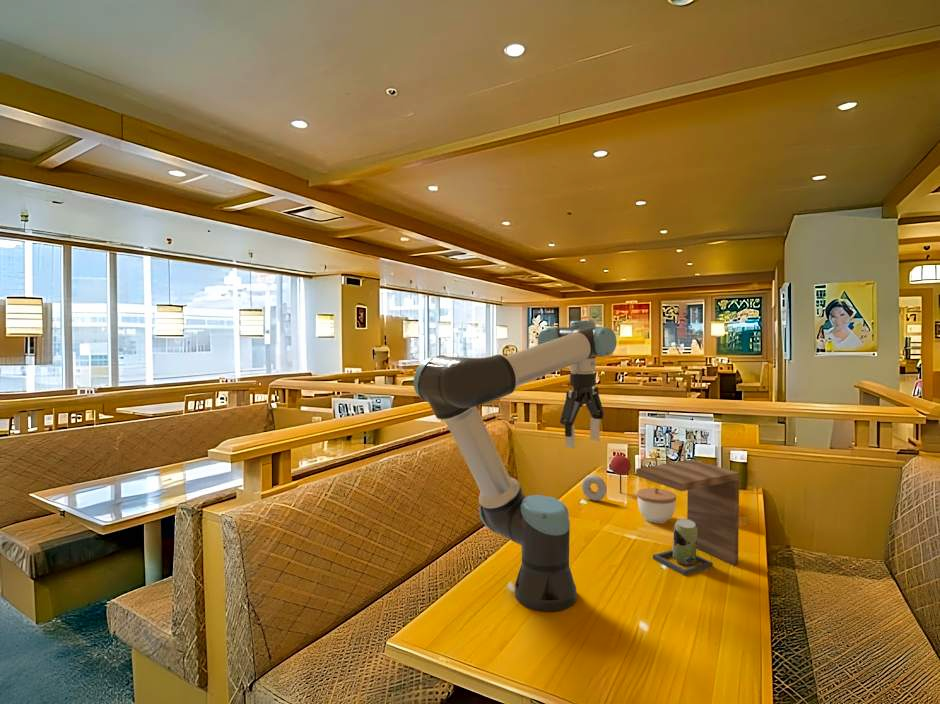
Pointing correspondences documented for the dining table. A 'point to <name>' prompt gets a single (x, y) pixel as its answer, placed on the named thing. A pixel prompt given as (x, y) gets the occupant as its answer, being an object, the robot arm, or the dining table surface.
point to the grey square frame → (686, 571)
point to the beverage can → (685, 541)
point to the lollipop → (620, 466)
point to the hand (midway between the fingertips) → (582, 443)
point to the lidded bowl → (656, 504)
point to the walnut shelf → (705, 503)
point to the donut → (600, 484)
